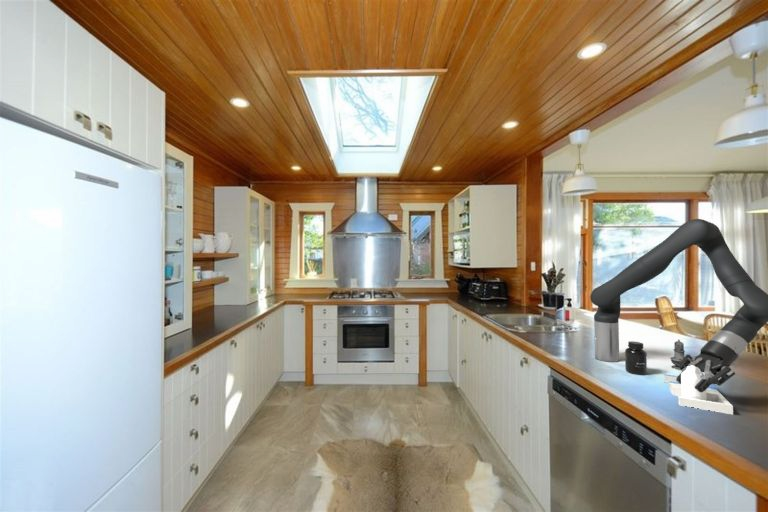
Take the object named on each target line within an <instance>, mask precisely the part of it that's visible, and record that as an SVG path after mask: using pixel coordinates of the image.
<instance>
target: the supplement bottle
mask: <svg viewBox="0 0 768 512" xmlns="http://www.w3.org/2000/svg"><path fill="white" fill-rule="evenodd" d="M624 352H625V353H624V354H625V359H624V362H625V363H624V364H625V367H624V368H625V371H626V372H627V373H629V374H634V375H639V376H644V375H645V376H646V374H647V373H648V371H647V367H648V366H647V365H648V364H647V363H648V361H647V351H645V350H644V343H643V342H639V341H628V344H627V348H625V351H624Z"/></svg>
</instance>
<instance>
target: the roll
mask: <svg viewBox="0 0 768 512" xmlns="http://www.w3.org/2000/svg"><path fill="white" fill-rule="evenodd" d="M681 372H682V371H681ZM681 372H680V374H681V396H682V397H687V398H693V399H699V400H706V390H705V391H703V392H699V391H697V390H696V389H695V386H696V385H697V384H698V383H699V382H700V380H701V379H704V375H705V373H704V372H701V370H700V369H699V368H698V367H695V366H693V365H691V366H687V368H686V370H685V371H684V372H682V373H681Z"/></svg>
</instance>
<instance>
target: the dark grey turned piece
mask: <svg viewBox="0 0 768 512" xmlns="http://www.w3.org/2000/svg"><path fill="white" fill-rule="evenodd" d="M673 345H674V349H672V350H673V351H674V352H673V353H674V354H673V357H670V358H669V359H670V361H671V363H672V364H673V365H672V366H671V368H672V369H674V368H675V370H680V371H682V370H681V369H680V368H679V367H678V366H679V365H680V363H681V362H682V360H683V359H684V357H685V352H686V350H685V348H684V347H685V346H684V342H682V341H681V340H680V339H677V341H674V344H673ZM684 368H685V366H684Z"/></svg>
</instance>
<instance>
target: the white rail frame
mask: <svg viewBox="0 0 768 512" xmlns="http://www.w3.org/2000/svg"><path fill="white" fill-rule="evenodd" d="M678 376H679V375H671V374H663V377H664V378H663V379H664V380H663V382H664V383H665V384H669V387H668V388H669V391H670V393H671V394H672V396H675V397H677V398H678V405H679V406H680V407H685V406H687V408H691V407H694V408H693V409H697V408H699V409H698V410H703V411H708V410H710V411H709V412H714V411H715V413H716V412H717V413H722V414H726V415H734V406H733V404H731V403H730V402H729V401H728V399H726V397H724V395H722V394H721V392H720V391H719V390H718V385H717V384H713V385H710V386H709V387H708V388H707V389H706V400H707V401H706V400H699V399H693V398H687V397H682V396H681V384H679V383H678V382H677V381H676V378H677V377H678ZM712 401H714V402H712Z"/></svg>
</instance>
